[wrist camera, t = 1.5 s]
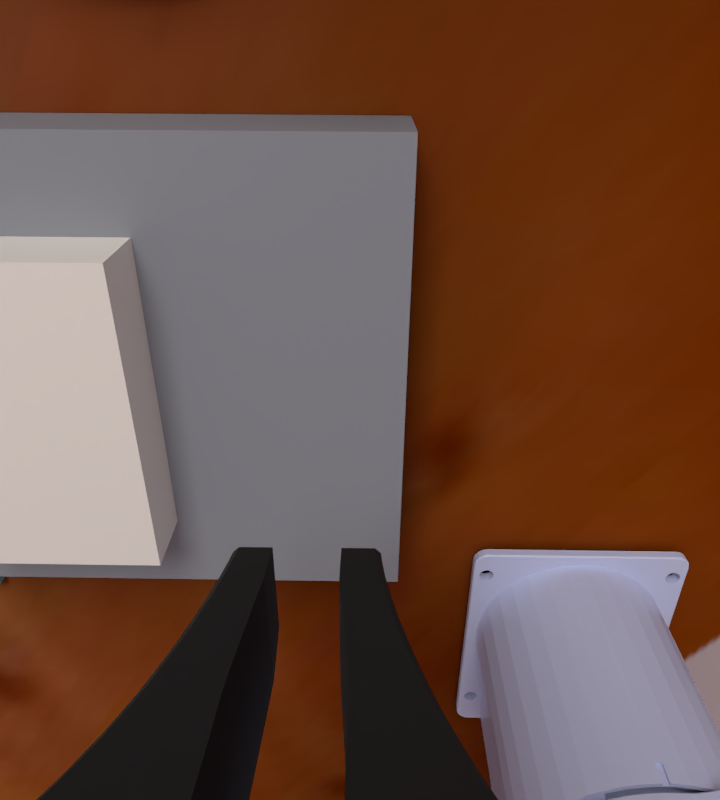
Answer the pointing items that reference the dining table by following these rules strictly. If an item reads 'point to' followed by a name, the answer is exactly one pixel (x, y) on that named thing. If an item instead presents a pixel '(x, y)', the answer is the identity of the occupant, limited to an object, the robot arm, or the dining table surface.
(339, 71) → the dining table surface
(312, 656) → the dining table surface
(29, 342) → the tile
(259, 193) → the block
